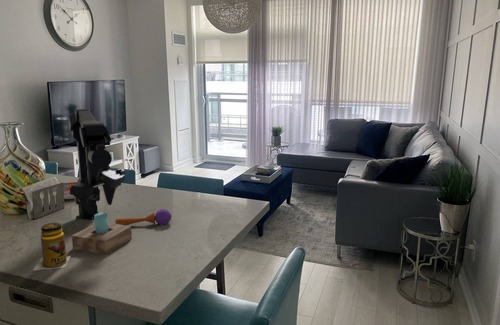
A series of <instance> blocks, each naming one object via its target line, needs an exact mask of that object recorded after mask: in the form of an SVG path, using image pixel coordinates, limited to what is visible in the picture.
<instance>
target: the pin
mask: <svg viewBox="0 0 500 325" xmlns="http://www.w3.org/2000/svg"><path fill="white" fill-rule="evenodd" d="M93 218H94V224H95V230H96V234H102V235H104V234H105V233H107V232H109V229H108V223H109V220H108V213H107V212H98V214H95V215H94V217H93Z"/></svg>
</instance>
